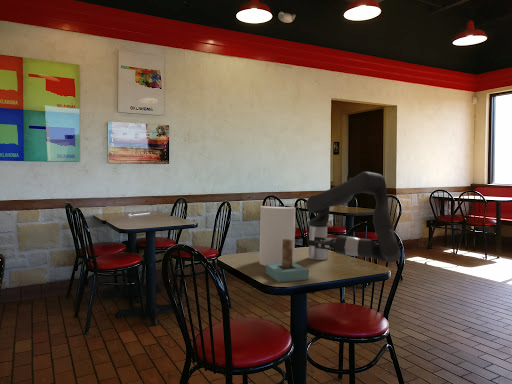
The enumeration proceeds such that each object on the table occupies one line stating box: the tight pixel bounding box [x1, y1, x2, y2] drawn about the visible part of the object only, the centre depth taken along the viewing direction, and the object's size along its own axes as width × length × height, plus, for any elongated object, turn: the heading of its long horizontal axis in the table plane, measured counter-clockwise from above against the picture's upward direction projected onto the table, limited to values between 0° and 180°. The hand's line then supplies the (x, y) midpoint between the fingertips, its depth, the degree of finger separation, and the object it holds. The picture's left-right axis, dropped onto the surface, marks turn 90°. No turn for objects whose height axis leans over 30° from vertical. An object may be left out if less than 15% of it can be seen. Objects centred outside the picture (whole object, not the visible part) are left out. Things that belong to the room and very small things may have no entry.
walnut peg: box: [282, 239, 293, 269], centre depth 171 cm, size 4×4×16 cm
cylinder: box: [258, 205, 297, 267], centre depth 195 cm, size 17×17×28 cm
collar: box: [265, 262, 310, 283], centre depth 171 cm, size 14×14×4 cm
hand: (310, 240), depth 169 cm, fingers open, 8 cm apart
